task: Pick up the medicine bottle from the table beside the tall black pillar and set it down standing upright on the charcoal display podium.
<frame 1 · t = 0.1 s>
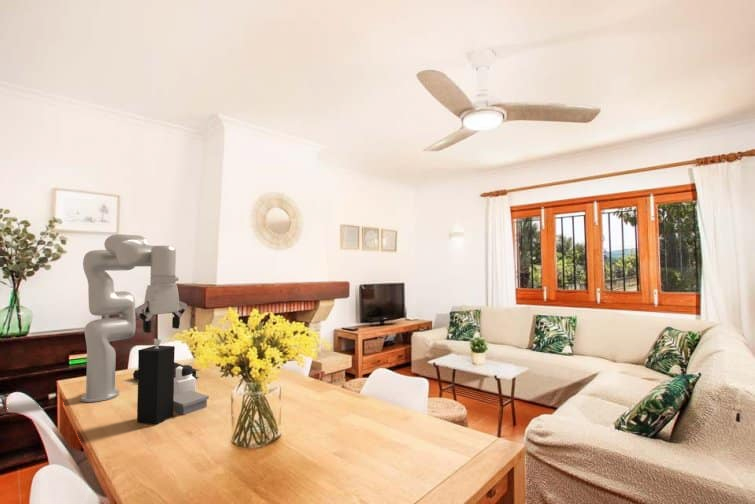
hand: (161, 330, 130), 31 cm above the table, tool pointing down, fingers open, 9 cm apart
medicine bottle: (183, 396, 154), on the table
diary: (166, 380, 177), on the table
tall black pillar: (155, 420, 130), on the table
podium: (186, 407, 141), on the table
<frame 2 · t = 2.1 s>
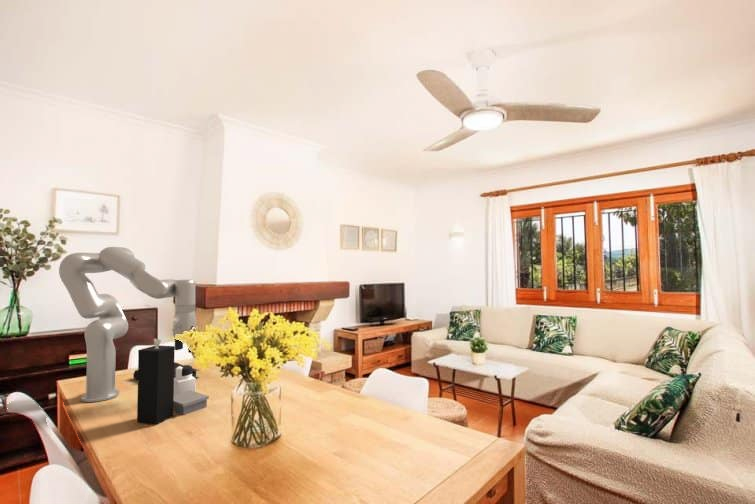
hand: (185, 350, 155), 18 cm above the table, tool pointing down, fingers open, 9 cm apart
nothing on the table moved.
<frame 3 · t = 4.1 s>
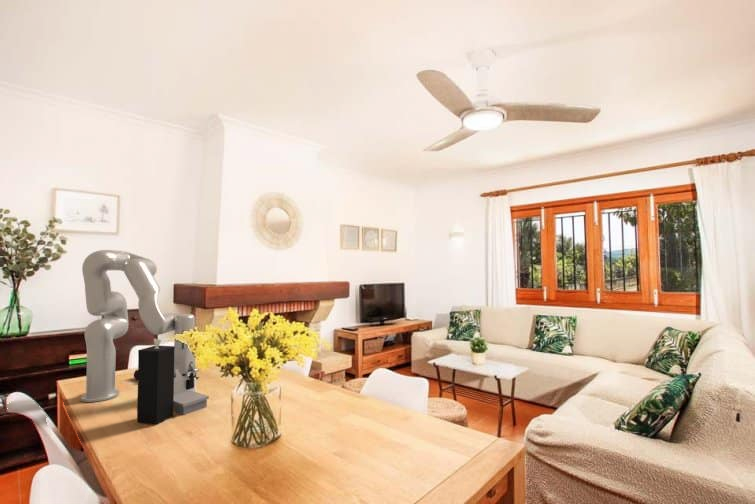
hand: (183, 386, 154), 4 cm above the table, tool pointing down, fingers closed on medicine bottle, 8 cm apart
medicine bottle: (183, 395, 154), on the table, touching gripper
everything else where it was.
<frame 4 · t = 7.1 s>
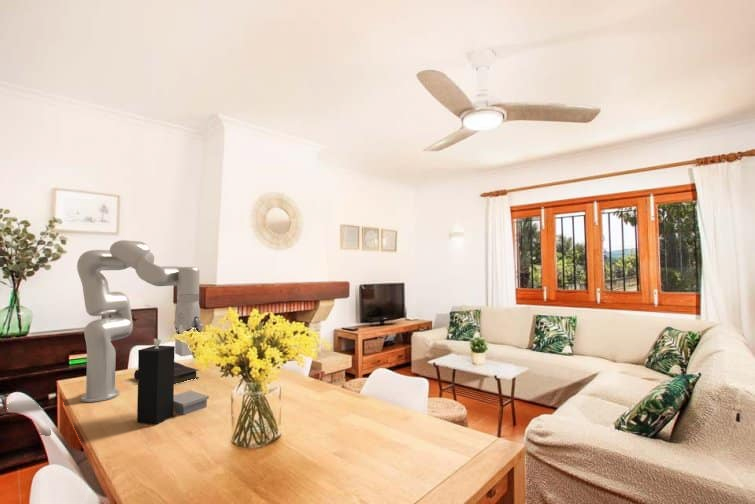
hand: (187, 344, 143), 23 cm above the table, tool pointing down, fingers closed on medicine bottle, 8 cm apart
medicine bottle: (188, 354, 143), point 20 cm above the table, touching gripper
everything else where it was.
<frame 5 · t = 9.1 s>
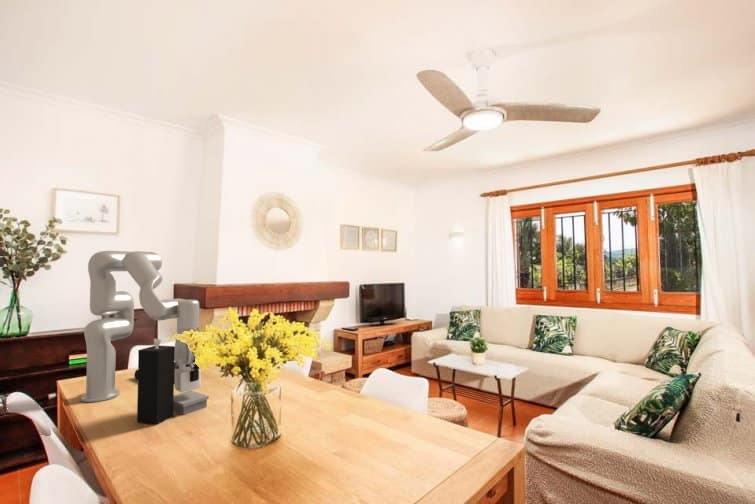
hand: (187, 378, 141), 11 cm above the table, tool pointing down, fingers closed on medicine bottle, 8 cm apart
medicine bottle: (187, 388, 141), point 7 cm above the table, touching gripper
everything else where it was.
when the fingers open (9 cm above the table, at t = 10.4 s): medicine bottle drops 2 cm, resting on podium.
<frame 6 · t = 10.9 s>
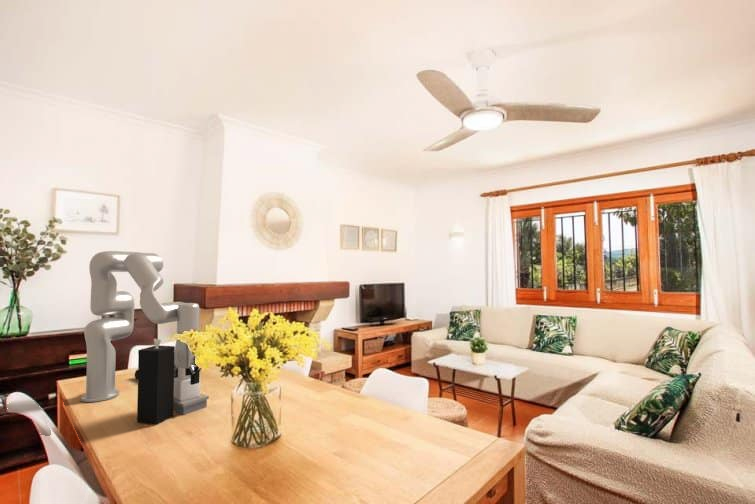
hand: (187, 381, 141), 10 cm above the table, tool pointing down, fingers open, 9 cm apart
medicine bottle: (186, 397, 141), point 4 cm above the table, touching podium
everything else where it was.
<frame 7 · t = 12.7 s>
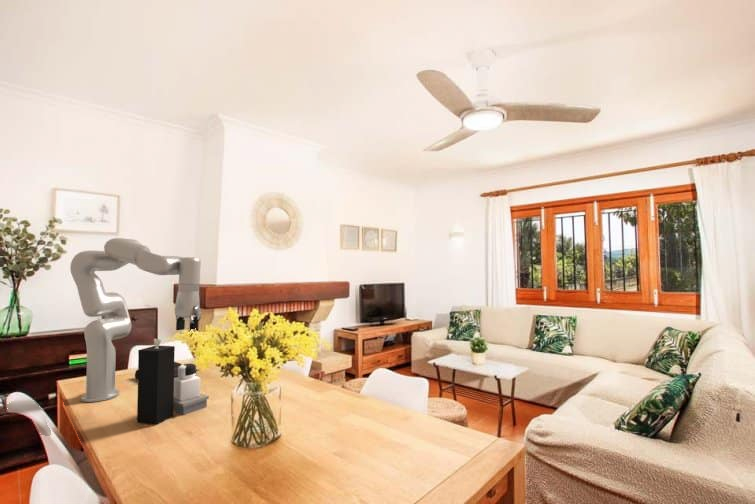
hand: (186, 331, 148), 27 cm above the table, tool pointing down, fingers open, 9 cm apart
nothing on the table moved.
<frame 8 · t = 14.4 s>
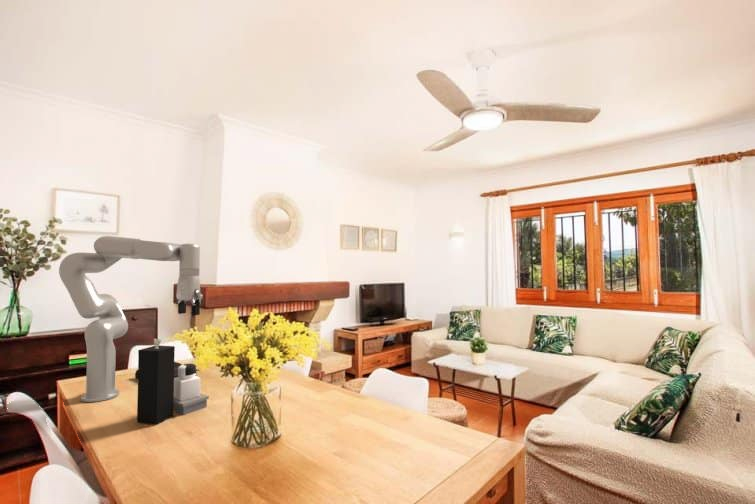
hand: (188, 314, 156), 33 cm above the table, tool pointing down, fingers open, 9 cm apart
nothing on the table moved.
at the end: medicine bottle inside the target area on the podium (0.3 cm from its centre), point 3.8 cm above the podium's base; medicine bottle tilted 0°; the gripper is holding nothing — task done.
